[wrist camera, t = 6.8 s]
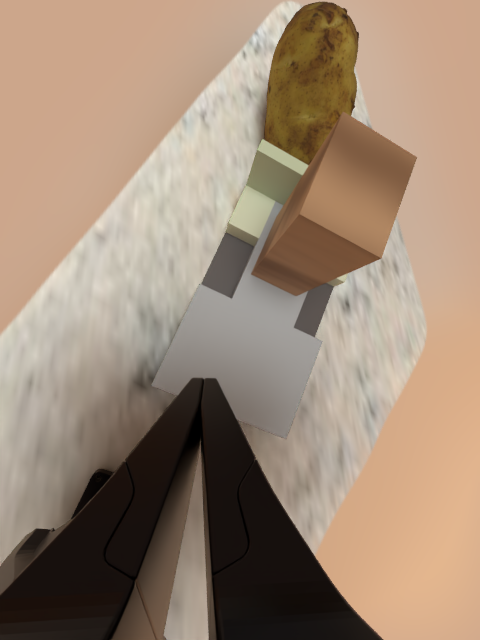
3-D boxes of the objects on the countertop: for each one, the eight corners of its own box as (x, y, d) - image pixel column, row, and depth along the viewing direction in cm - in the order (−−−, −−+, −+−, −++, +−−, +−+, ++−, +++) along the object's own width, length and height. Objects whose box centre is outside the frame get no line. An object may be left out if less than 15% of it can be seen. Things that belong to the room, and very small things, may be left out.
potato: (234, 183, 23) (254, 103, 15) (269, 77, 25) (302, -45, 17) (310, 214, 24) (365, 154, 16) (338, 110, 26) (400, 11, 18)
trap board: (278, 430, 22) (307, 463, 16) (155, 381, 20) (138, 398, 14) (348, 244, 25) (395, 215, 19) (246, 189, 23) (262, 138, 17)
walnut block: (295, 296, 21) (381, 258, 11) (250, 274, 20) (299, 214, 11) (319, 238, 22) (417, 157, 12) (276, 216, 21) (343, 111, 12)
